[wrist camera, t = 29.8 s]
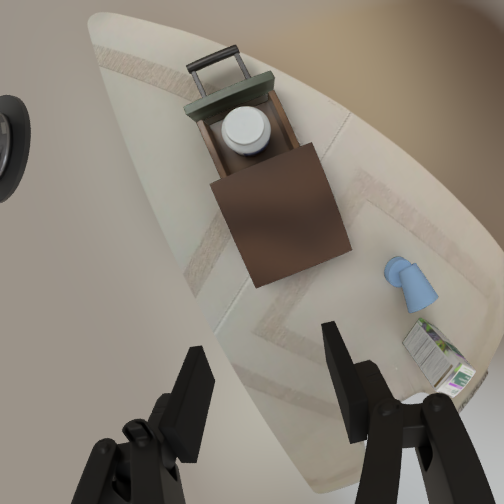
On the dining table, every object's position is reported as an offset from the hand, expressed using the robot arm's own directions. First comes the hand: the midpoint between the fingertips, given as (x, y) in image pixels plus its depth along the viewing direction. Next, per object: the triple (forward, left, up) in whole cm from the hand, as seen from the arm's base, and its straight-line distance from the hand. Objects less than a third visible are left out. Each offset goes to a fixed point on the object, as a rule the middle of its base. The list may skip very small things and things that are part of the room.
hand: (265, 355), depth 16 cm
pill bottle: (+4, +15, -25) cm, 29 cm away
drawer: (+4, +18, -26) cm, 32 cm away
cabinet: (+4, +4, -27) cm, 28 cm away
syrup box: (+20, -26, -27) cm, 43 cm away
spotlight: (+18, -12, -27) cm, 35 cm away
